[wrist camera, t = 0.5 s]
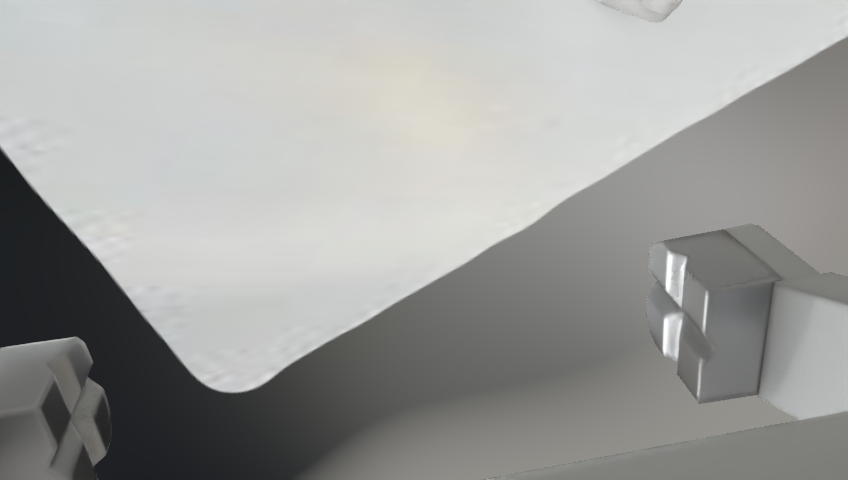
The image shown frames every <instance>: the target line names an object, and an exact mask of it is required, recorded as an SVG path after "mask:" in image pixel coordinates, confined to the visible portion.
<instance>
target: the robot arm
mask: <svg viewBox="0 0 848 480" xmlns="http://www.w3.org/2000/svg"><path fill="white" fill-rule="evenodd" d="M648 270H649V271H650V272H651V273H652V275H653V276H654V277H655V278H656V279H657V282H656V283H655V285H654V286H653V287H652V289H651V290H650V292H649V293H648V294H647V318H648V324H649V328H650V333H651V335H652V337H653V339H654V342H655V344H656V345H657V347H658V349H659V350H660V351H661V353H662V354H663V355H664V356H666V357H668V358H670V359H673V360H675V361H677V362H678V370H677V375H678V376H679V377H680V379H681V380H682V381H683V383H684V384H685V385H686V387H687V388H688V389H689V391H690V392H691V393H692V395H693V396H694V397H695V399H696V400H697V401H698V403H699V404H701V403H708V402H714V401H721V400H727V399H733V398H740V397H746V396H753V395H759V396H758V397H759V398H760V399H762V400H764V401H766V402H768V403H770V404H771V405H773V406H775V407H777V408H779V409H780V410H782V411H784V412H786V413H788V414H789V415H791V416H793V417H795V418H797V419H798V420H796V421H791V422H786V423H781V424H775V425H770V426H765V427H759V428H754V429H749V430H744V431H738V432H733V433H727V434H722V435H717V436H711V437H706V438H701V439H696V440H690V441H685V442H680V443H675V444H669V445H664V446H659V447H653V448H648V449H642V450H638V451H632V452H627V453H622V454H616V455H611V456H605V457H600V458H595V459H590V460H584V461H579V462H574V463H569V464H564V465H558V466H552V467H547V468H542V469H537V470H532V471H526V472H521V473H516V474H510V475H505V476H499V477H494V478H489V479H484V480H848V277H847V276H843V275H840V274H836V273H832V272H829V273H823V274H820V273H819V272H817V271H816V270H815V269H814V268H812V267H811V266H810V265H808V264H807V263H806V262H805V261H804V260H802V259H801V258H800V257H799V256H797V255H796V254H795V253H793V252H792V251H791V250H790V249H788V248H787V247H786V246H784V245H783V244H782V243H781V242H779V241H778V240H777V239H776V238H774V237H773V236H772V235H770V234H769V233H768V232H767V231H765V230H764V229H763V228H761V227H760V226H759V225H754V224H747V225H742V226H737V227H732V228H728V229H722V230H717V231H712V232H706V233H701V234H696V235H691V236H685V237H680V238H675V239H670V240H664V241H660V242H656V243H652V246H651V249H650V252H649V260H648ZM92 364H93V361H92V358H91V356H90V354H89V351H88V349H87V347H86V344H85V342H83V341H82V340H81V339H79V338H78V337H71V338H65V339H58V340H51V341H44V342H37V343H30V344H23V345H16V346H10V347H4V348H0V480H98V477H97V475H96V472H95V470H94V467H93V466H94V465H95V464H96V463H97V462H99V460H101V459H102V458H103V457H104V456H105V455H106V453H107V450H108V446H109V444H110V440H111V414H110V408H109V403H108V400H107V397H106V395H105V392H104V389H103V388H102V387H101V386H99V385H98V384H96V383H95V382H93V381H92V380H90V379H89V378H87V376H88V373H89V371H90V369H91V366H92Z"/></svg>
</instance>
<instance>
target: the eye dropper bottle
mask: <svg viewBox="0 0 848 480" xmlns="http://www.w3.org/2000/svg"><path fill="white" fill-rule="evenodd" d="M597 1H598V2H600V3H602V4H604V5H606V6H608V7H611V8H613V9H616V10H619V11H621V12H624V13H627V14H630V15H632V16H635V17H638V18H641V19H644V20H646V21H650V22H656V23H657V22H662V21H663V20H665V19H666V18H667V17H668V16H669V15H670V13H671V12H672V11H673V10H675V9H676V8H677V7H678V6H679V5H680V4H681V2H682V0H597Z"/></svg>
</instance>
